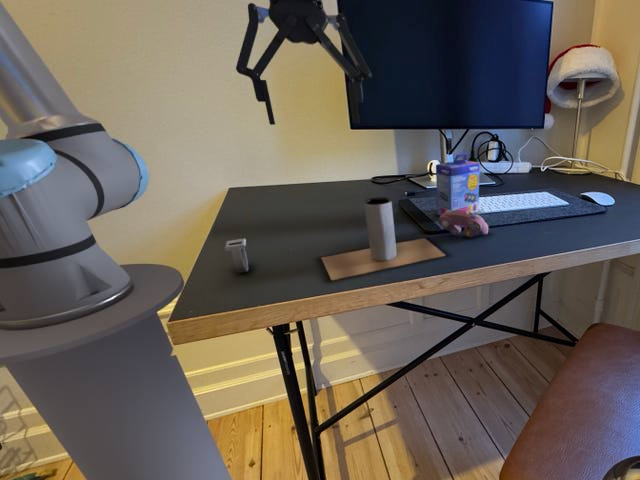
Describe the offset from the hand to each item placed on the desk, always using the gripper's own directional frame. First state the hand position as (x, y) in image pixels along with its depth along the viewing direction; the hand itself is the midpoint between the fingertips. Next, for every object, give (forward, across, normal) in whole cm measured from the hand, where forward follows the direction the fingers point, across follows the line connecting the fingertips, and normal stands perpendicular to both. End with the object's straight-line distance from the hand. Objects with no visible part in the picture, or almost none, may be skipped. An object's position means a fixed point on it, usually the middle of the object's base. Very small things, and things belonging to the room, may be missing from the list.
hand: (316, 123), depth 64 cm
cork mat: (+22, +6, -12) cm, 26 cm away
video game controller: (+22, +24, -9) cm, 34 cm away
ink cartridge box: (+22, +30, +5) cm, 37 cm away
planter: (+22, +6, -12) cm, 26 cm away
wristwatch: (+22, -16, -7) cm, 28 cm away
